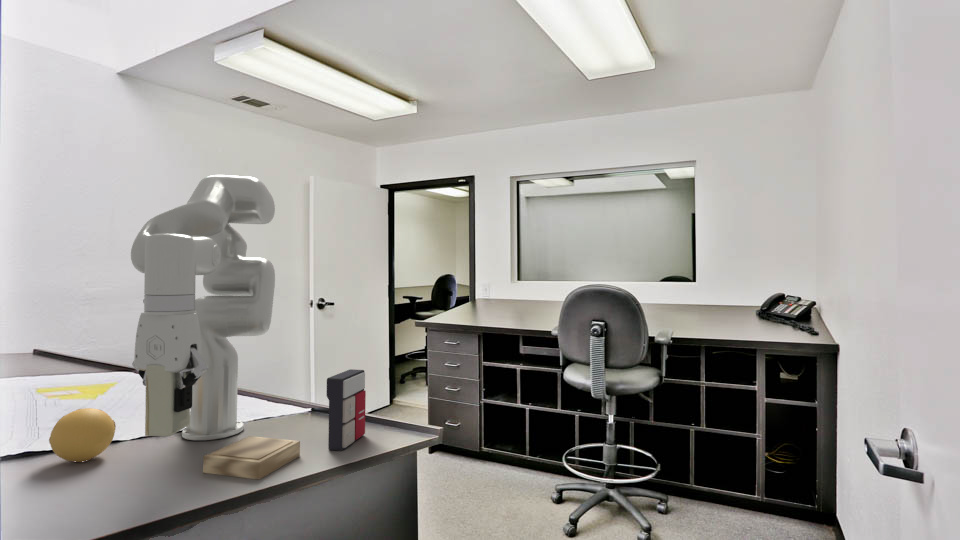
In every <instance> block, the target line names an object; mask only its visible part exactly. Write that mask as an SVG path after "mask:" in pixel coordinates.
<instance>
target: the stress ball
mask: <svg viewBox="0 0 960 540" xmlns="http://www.w3.org/2000/svg"><path fill="white" fill-rule="evenodd" d="M115 433H116V422H115V420H114V419H113V418H112V417H111V416H110V415H109V414H108V413H107V412H106V411H103V410H102V409H98V408H94V407H92V408H91V407H89V408H88V407H87V408H86V407H85V408H78V409H75V410H74V411H71V412H68V413H67V414H65V415H63V416H62V417H60V418H59V420H58V421H57V422H56V423H55V425H54V426H53V428H52V429H51V433H50V436H49V439H48V441H49V444H50V447H51V450H52V452H53V453H54V454H55V455H56V456H57V457H59V458H60V459H62V460H64V461H69V462H73V461H76V462H82V461H86V460H90V459H91V458H92V459H93V458H96V457H97V456H99V455H101V454H102V453H103V452H104V451H105V450H107V448H108V447H110V445H111V443H112V442H113V439H114V436H115ZM92 459H91V460H92ZM91 460H90V461H91ZM82 463H83V462H82Z"/></svg>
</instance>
